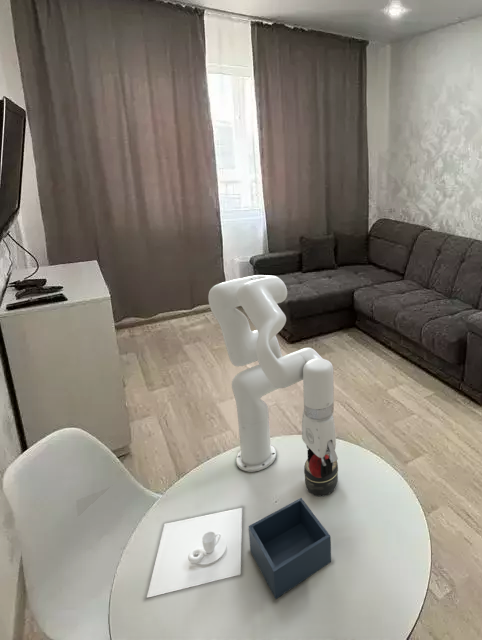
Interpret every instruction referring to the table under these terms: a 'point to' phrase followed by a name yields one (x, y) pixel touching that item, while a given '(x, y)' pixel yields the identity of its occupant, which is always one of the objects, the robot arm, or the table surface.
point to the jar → (321, 481)
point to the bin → (289, 546)
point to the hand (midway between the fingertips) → (319, 467)
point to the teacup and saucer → (197, 552)
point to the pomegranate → (316, 465)
